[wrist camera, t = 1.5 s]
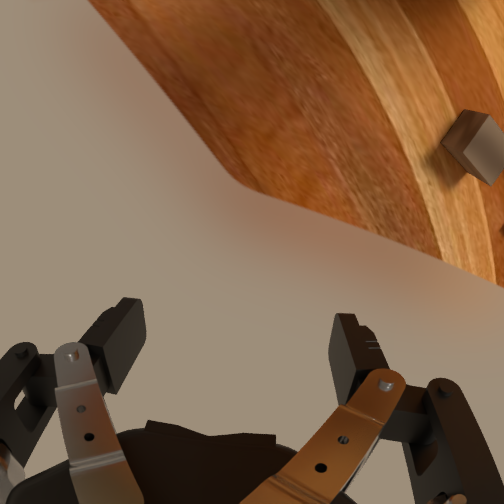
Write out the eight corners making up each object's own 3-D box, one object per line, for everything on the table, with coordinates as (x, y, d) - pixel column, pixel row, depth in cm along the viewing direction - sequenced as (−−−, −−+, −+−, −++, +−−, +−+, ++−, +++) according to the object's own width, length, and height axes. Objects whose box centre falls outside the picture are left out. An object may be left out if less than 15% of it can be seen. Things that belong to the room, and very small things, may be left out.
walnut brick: (464, 109, 25) (489, 114, 21) (491, 140, 26) (516, 150, 21) (440, 142, 27) (462, 152, 23) (468, 172, 28) (490, 186, 24)
